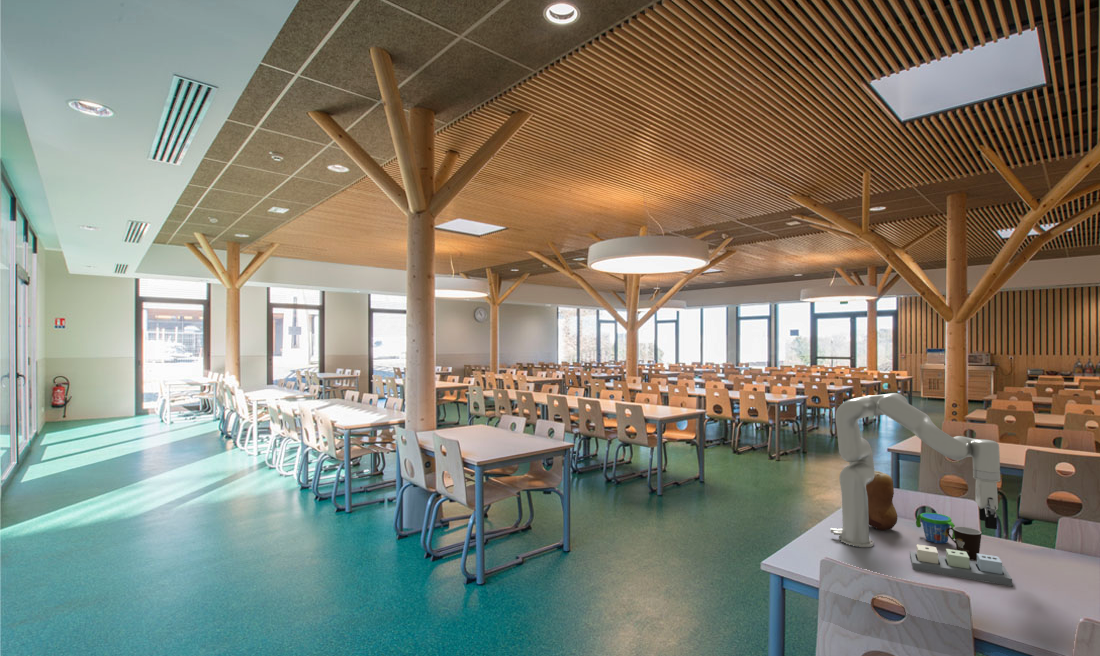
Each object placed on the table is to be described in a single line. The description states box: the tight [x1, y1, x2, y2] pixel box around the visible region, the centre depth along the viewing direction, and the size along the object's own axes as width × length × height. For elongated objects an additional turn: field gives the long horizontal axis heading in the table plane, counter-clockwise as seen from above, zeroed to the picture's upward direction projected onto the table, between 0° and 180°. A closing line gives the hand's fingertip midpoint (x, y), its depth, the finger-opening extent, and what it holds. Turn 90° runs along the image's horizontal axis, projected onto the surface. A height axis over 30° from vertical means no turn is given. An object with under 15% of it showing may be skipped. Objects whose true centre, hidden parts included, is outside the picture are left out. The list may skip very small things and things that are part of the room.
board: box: [909, 550, 1013, 587], centre depth 192 cm, size 28×12×2 cm, turn 60°
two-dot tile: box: [945, 548, 970, 569], centre depth 192 cm, size 6×6×4 cm
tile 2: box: [976, 553, 1003, 574], centre depth 187 cm, size 6×6×4 cm
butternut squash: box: [866, 470, 898, 532], centre depth 236 cm, size 14×13×25 cm
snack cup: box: [915, 512, 956, 545], centre depth 220 cm, size 16×10×10 cm
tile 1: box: [916, 543, 939, 564], centre depth 196 cm, size 6×6×4 cm
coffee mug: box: [947, 525, 982, 561], centre depth 206 cm, size 12×9×10 cm
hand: (988, 524), depth 188 cm, fingers open, 8 cm apart
